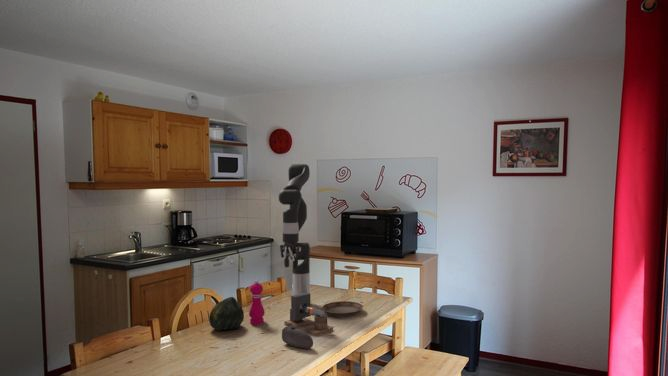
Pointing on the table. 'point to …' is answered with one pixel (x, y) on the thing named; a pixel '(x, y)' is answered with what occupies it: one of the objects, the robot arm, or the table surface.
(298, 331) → the perforated stone tool
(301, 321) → the pipe stand
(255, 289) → the pepper mill
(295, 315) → the collar
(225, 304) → the squash
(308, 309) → the pipe
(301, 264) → the robot arm
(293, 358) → the table surface
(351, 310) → the plant saucer
